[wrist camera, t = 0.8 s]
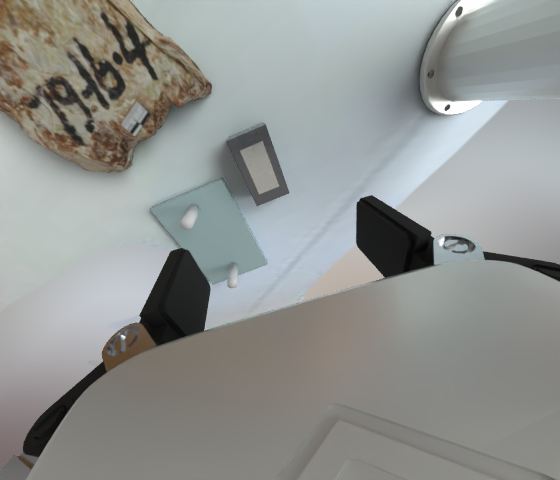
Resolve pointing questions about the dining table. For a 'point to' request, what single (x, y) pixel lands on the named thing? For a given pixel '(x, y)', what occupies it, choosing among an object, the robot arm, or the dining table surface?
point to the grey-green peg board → (212, 231)
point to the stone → (90, 77)
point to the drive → (258, 163)
